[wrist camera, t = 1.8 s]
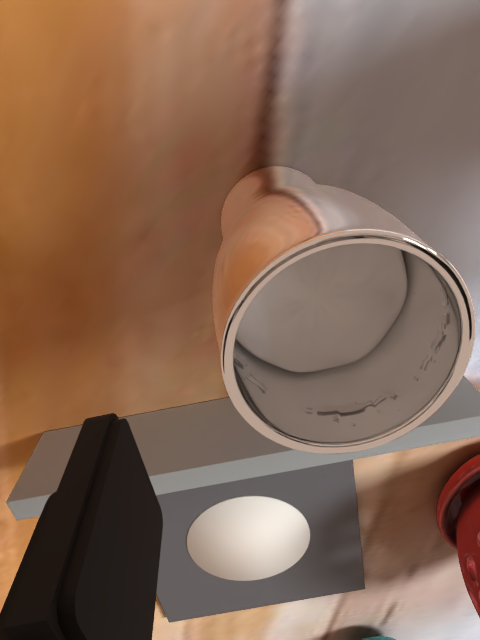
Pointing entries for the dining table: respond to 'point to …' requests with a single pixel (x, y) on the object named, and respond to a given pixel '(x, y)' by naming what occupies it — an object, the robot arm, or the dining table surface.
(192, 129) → the dining table surface
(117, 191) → the dining table surface
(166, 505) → the dark gray mat
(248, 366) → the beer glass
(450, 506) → the plant pot
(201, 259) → the dining table surface
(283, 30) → the dining table surface
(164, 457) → the low wall
